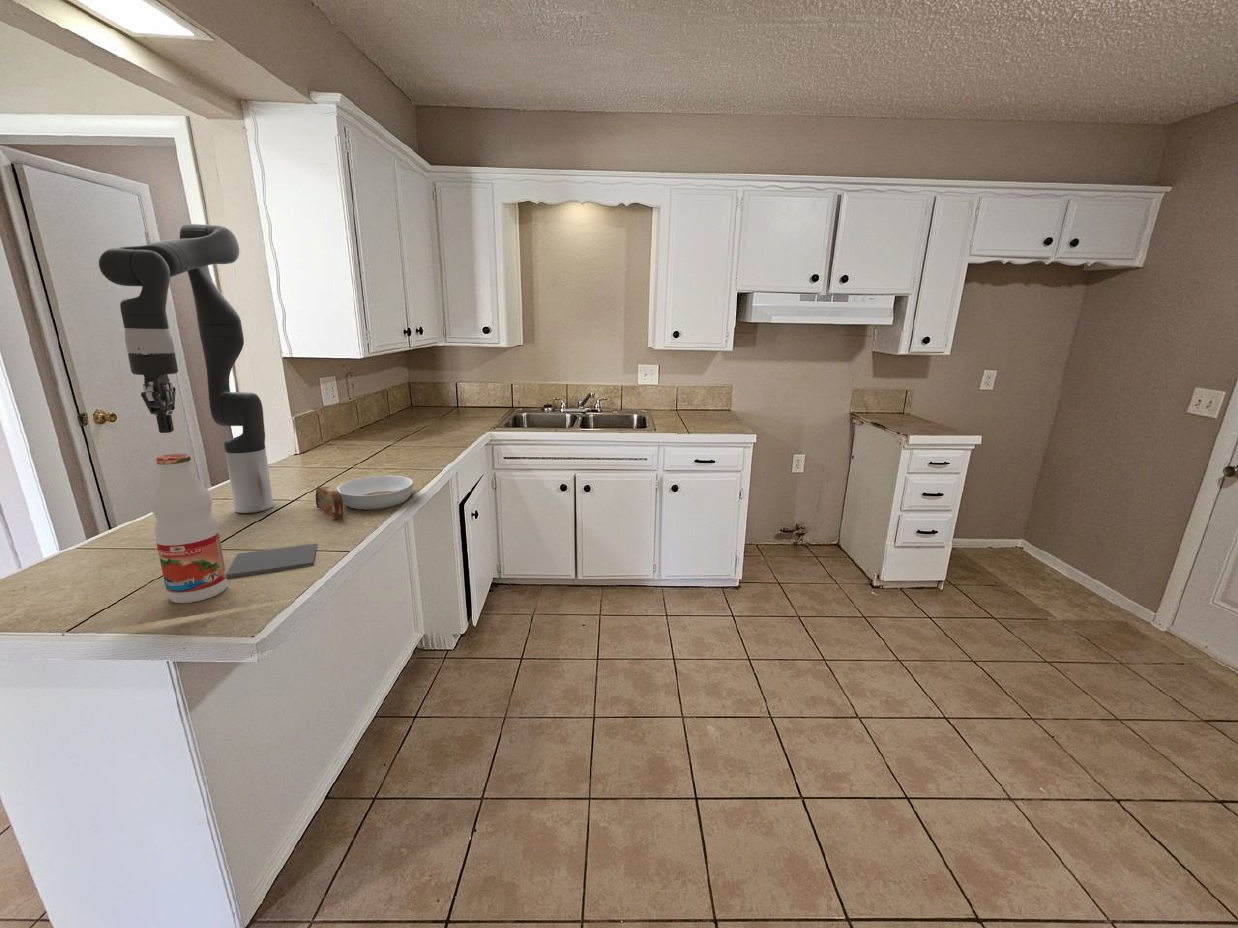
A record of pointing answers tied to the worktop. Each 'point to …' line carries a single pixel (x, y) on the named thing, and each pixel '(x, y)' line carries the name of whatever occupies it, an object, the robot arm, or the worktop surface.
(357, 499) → the serving bowl
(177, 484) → the fruit juice
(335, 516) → the tin
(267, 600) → the worktop surface
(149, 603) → the worktop surface
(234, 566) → the mat
